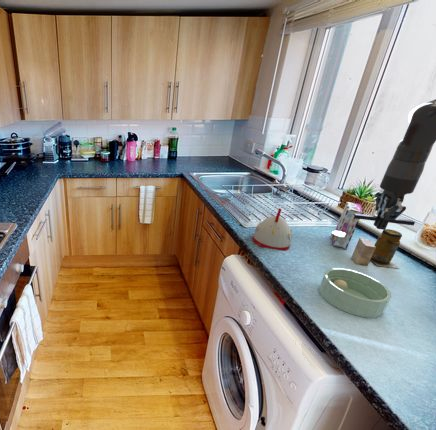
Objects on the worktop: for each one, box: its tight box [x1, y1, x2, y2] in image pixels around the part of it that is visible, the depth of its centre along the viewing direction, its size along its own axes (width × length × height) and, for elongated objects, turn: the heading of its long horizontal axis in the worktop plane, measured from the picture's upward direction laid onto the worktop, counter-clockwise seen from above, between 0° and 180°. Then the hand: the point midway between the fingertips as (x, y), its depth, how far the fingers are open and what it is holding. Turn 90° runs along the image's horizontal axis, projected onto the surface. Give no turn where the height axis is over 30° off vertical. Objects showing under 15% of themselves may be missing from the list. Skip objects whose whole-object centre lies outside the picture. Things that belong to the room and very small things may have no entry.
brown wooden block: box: [351, 237, 376, 267], centre depth 105 cm, size 3×6×8 cm, turn 159°
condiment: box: [370, 228, 403, 269], centre depth 105 cm, size 7×8×12 cm
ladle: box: [329, 213, 416, 242], centre depth 93 cm, size 19×4×10 cm, turn 68°
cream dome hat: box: [252, 208, 293, 252], centre depth 116 cm, size 14×14×15 cm
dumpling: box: [333, 280, 347, 291], centre depth 90 cm, size 4×4×4 cm
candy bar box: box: [332, 201, 363, 250], centre depth 117 cm, size 11×5×16 cm, turn 145°
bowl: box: [318, 267, 392, 319], centre depth 86 cm, size 16×16×6 cm
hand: (378, 227), depth 91 cm, fingers closed on ladle, 1 cm apart
